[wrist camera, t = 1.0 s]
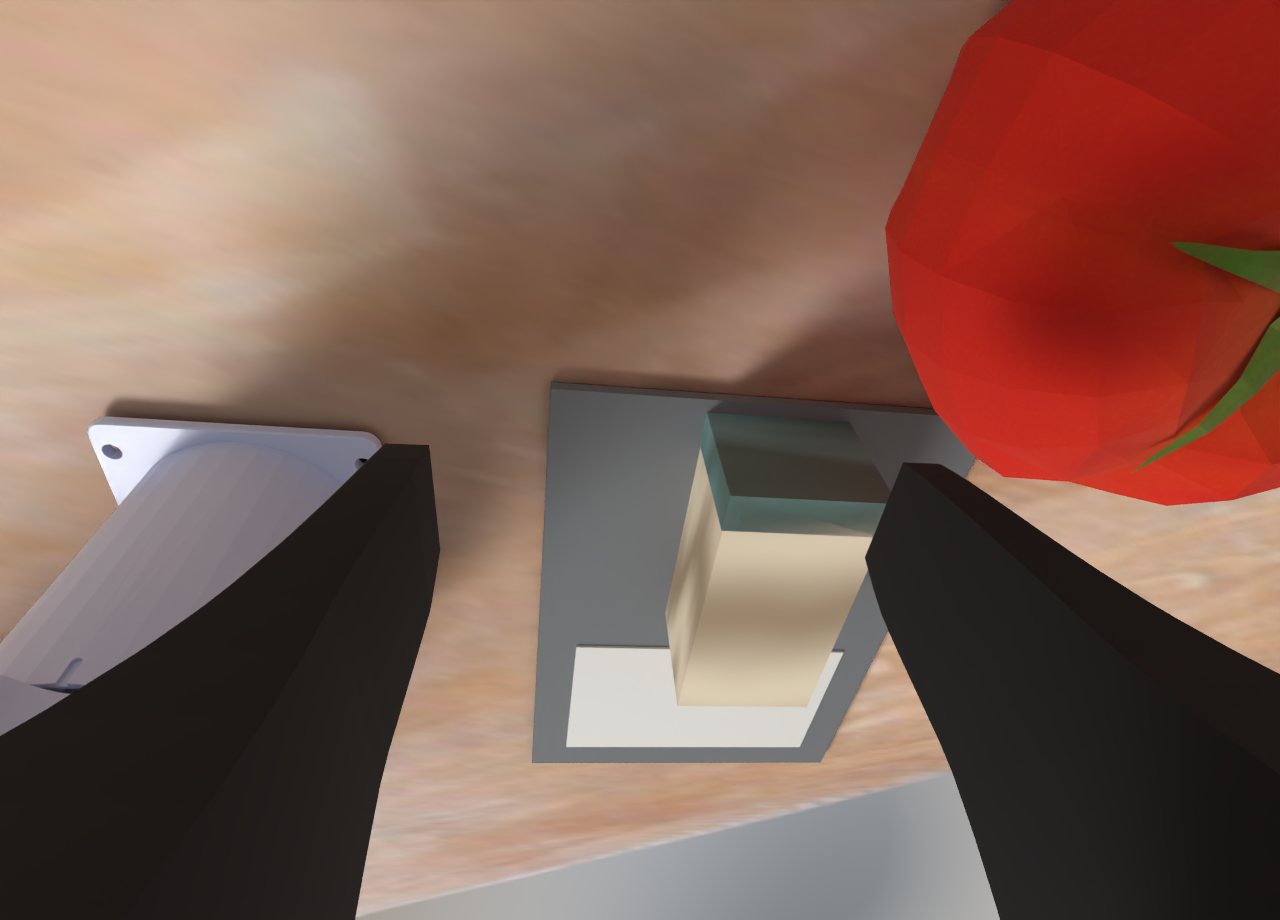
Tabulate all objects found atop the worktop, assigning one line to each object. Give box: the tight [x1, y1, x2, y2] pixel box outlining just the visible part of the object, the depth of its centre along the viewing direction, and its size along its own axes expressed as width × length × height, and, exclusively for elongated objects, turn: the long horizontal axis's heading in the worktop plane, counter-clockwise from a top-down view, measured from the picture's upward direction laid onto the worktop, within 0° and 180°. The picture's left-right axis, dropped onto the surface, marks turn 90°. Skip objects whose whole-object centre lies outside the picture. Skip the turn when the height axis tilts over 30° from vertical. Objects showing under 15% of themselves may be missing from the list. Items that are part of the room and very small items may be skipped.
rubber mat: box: [532, 382, 976, 763], centre depth 26 cm, size 20×14×1 cm
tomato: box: [885, 0, 1280, 506], centre depth 14 cm, size 13×12×8 cm
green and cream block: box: [665, 413, 891, 707], centre depth 22 cm, size 9×4×4 cm, turn 173°
